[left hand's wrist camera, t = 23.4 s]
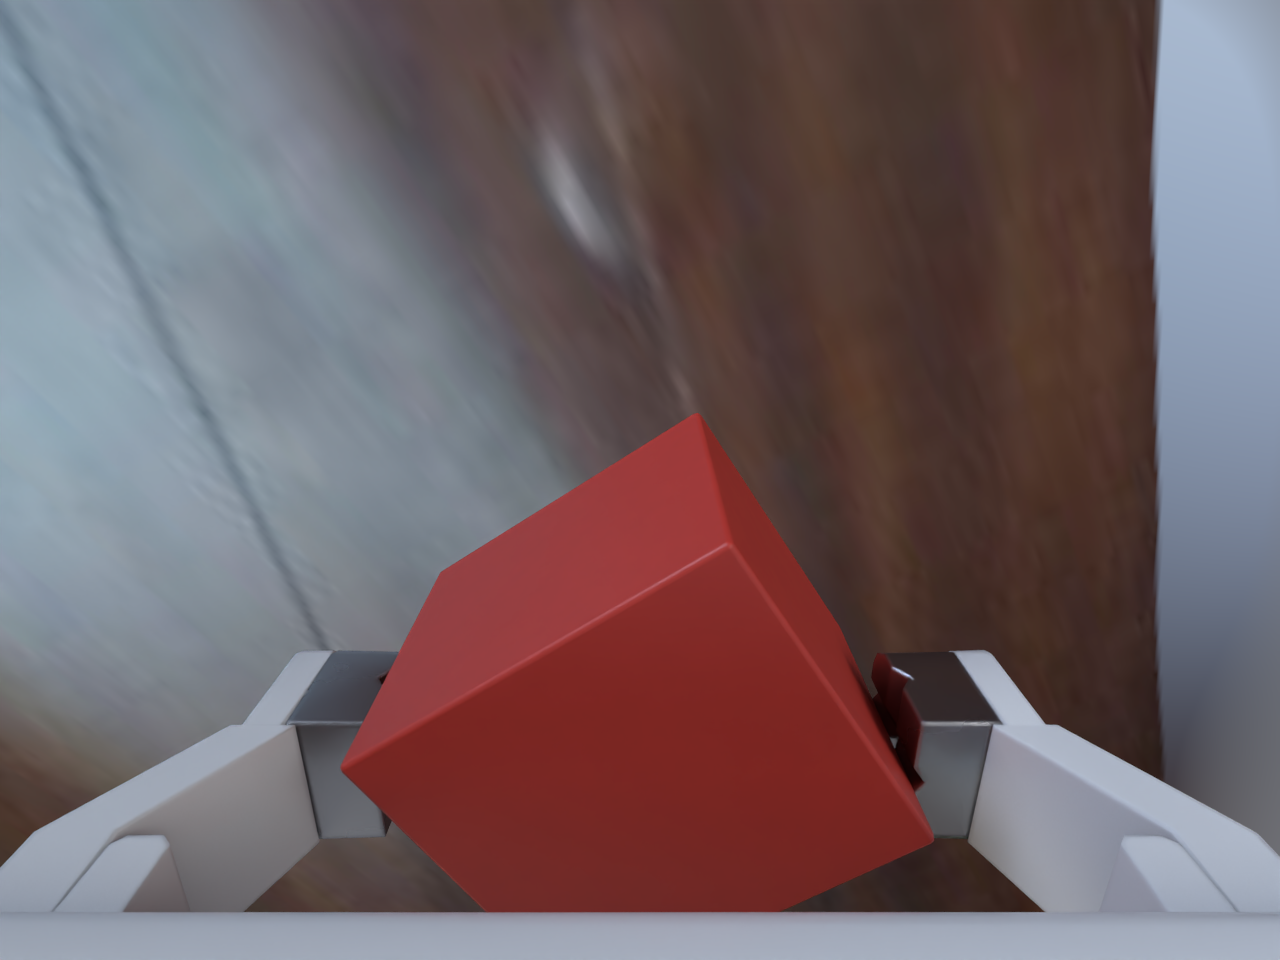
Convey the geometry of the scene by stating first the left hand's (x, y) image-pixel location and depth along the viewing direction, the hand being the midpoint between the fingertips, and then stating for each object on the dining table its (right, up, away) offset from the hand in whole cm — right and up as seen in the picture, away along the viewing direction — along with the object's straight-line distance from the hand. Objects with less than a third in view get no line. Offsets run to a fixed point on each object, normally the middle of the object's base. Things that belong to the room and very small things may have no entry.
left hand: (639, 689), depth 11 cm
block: (0, +1, +2) cm, 2 cm away
